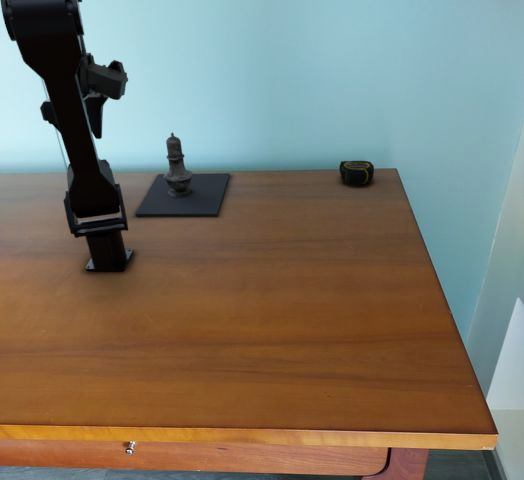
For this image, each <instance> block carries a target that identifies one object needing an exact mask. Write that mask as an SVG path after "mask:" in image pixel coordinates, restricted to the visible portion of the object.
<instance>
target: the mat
mask: <svg viewBox="0 0 524 480" xmlns="http://www.w3.org/2000/svg"><path fill="white" fill-rule="evenodd" d="M165 174H166V173H158V174H157V175H156V177H155V179H154V181H153V182H152V183H151V186H150V187H149V190H148V191H147V193H146V195H145V197H144V198H143V200H142V202H141V203H140V205H139V207H138V208H137V210H136V212H135V217H139V218H140V217H141V218H143V217H146V218H147V217H148V218H149V217H150V218H151V217H152V218H153V217H154V218H155V217H161V218H162V217H164V218H165V217H166V218H167V217H169V218H170V217H171V218H172V217H175V218H176V217H177V218H178V217H180V218H181V217H185V218H186V217H188V218H190V217H193V218H194V217H195V218H197V217H198V218H199V217H200V218H201V217H218V216H219V213H220V210H221V206H222V203H223V200H224V197H225V194H226V190H227V187H228V184H229V180H230V177H231V174H230V173H227V172H226V173H223V172H222V173H217V172H216V173H193V176H192V180H191V183H190V185H189V186H188V187H191V188H192V189H193V193H192V194H191V195H189V196H186V197H171V196H169V195H168V191H169V190H170V189H171V187H169V186H168V184H167V183H166V180H165V179H164V175H165Z"/></svg>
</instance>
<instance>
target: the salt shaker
mask: <svg viewBox="0 0 524 480" xmlns="http://www.w3.org/2000/svg"><path fill="white" fill-rule="evenodd" d="M165 144H166V150H167V151H166V152H167V155H166V159H167V160H168V166H169V167H168V171H167V172H165V173H164V174H165V175H164V179H165V180H166V183H167V184H168V186H169V187H171V189H170V190H169V191H168V195H169V196H171V197H186V196H189V195H191V194H192V193H193V189H192V188H191V187H188V186H189V185H190V183H191V180H192V176H193V174H194V173H193V172H192V171H191V170H188V169H186V166H185V160H184V158H185V154H184V153H183V149H182V148H183V147H182V141H181V139H180V138H179V137H177V136H176V135H175V133H174V132H173V131H172V132H170V136H169V137H168V138H167V139H166V141H165Z"/></svg>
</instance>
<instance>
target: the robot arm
mask: <svg viewBox="0 0 524 480" xmlns="http://www.w3.org/2000/svg"><path fill="white" fill-rule="evenodd" d="M80 3H83V0H0V7H1V13H2V18H3V21H4V25H5V29H6V33H7V35H8V37H9V40H10V41H11V42H15V43H16V45H17V48H18V50H19V53H20V57H21V59H22V61H23V63H24V64H25V65H26V66H28V67H29V68H30V70H32V71H33V72H34V73H35V74H36V75H37V76H38V77H40V78H41V79H42V80H43V83H44V86H45V90H46V92H47V96H48V97H47V98H46V99H45V100H43V101H42V103H41V105H40V106H39V110H40V114H41V116H42V120H43V121H44V122H48V124H49V125H52V126H53V127H54V128H55V129H56V130H57V131H58V132H59V134H60V137H61V140H62V143H63V146H64V149H65V153H66V155H67V159H68V161H69V163H68V166H67V173H66V181H67V189H65V191H64V192H65V195H64V196H65V197H64V198H63V200H62V201H63V205H64V210H65V216H66V220H67V224H68V228H69V232H70V234H71V235H73V236H74V238H75V239H79V238H81V237H85V241H86V244H87V248H88V251H89V255H90V259H89V260H88V263H87V264H86V266H85V268H84V269H85V271H86V272H124V271H125V269H126V267H127V265H128V264H129V261H130V260H131V258H132V255H133V254H134V250H133V249H131V248H125V242H124V239H123V234H122V232H123V231H129V224H128V223H129V222H128V217H127V213H126V206H125V203H124V197H123V192H122V188H121V183H120V182H116V181H115V177H114V176H115V175H114V173H113V172H114V171H113V169H112V168H111V165H110V163H109V162H108V160H107V159H106V158H105V159H104V158H103V159H100V158H99V154H98V151H97V147H96V143H95V140H94V138H95V139H96V140H101V139H102V138H103V119H104V118H103V115H104V114H103V113H104V105H105V104H106V103H107V101H108V100H109V99H111V100H114V101H120V100H121V98H122V96H125V94H126V87H127V83H128V82H129V78H128V72H126V71H125V67H124V64H123V62H122V61H119V60H116V59H113V60H112V61H111V62H110V63H109V64H108V66H107V65H106V64H102V65H101V64H98V63H96V62H95V59H94V55H93V54H92V52H87V48H86V44H85V40H84V36H85V28H84V24H83V19H82V13H81V7H80ZM118 213H121V215H117V214H118ZM110 215H115V216H110ZM100 216H101V217H102V218H95V219H88V220H81V219H87V218H94V217H100ZM103 216H108V217H103ZM78 219H80V221H78Z"/></svg>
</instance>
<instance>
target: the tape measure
mask: <svg viewBox="0 0 524 480" xmlns="http://www.w3.org/2000/svg"><path fill="white" fill-rule="evenodd" d="M338 169H339V175H340V176H341V180H342V181H343V182H344V183H346V184H351V185H363V184H368V183H370V182H371V181H372V180H373V178H374V174H375V165H374V164H373V163H372V162H371V161H367V160H341V161H340V163H339V168H338Z"/></svg>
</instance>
